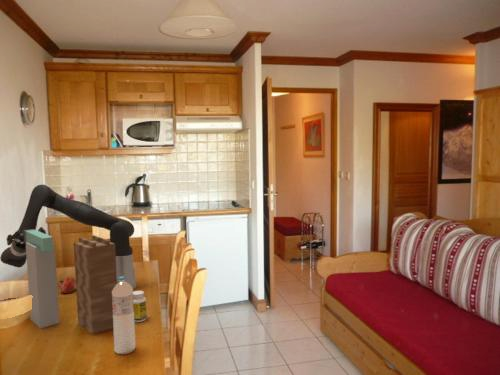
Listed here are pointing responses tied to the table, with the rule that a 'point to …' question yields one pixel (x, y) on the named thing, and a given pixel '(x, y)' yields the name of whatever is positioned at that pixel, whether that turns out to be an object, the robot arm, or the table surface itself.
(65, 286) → the pomegranate
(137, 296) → the pill bottle
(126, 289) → the water bottle
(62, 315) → the table surface
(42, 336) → the table surface
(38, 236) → the teal bar
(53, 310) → the grey stand
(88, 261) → the walnut stand
